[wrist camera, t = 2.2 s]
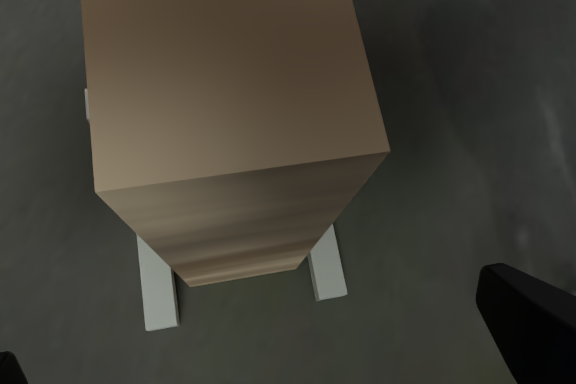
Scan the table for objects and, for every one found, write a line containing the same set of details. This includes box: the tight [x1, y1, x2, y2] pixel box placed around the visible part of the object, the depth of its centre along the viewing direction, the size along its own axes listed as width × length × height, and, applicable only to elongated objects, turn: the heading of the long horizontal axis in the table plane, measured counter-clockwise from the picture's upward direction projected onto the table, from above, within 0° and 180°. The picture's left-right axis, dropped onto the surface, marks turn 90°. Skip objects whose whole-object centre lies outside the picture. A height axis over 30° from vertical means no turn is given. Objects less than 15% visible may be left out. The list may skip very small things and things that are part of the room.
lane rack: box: [85, 89, 347, 331], centre depth 19 cm, size 8×9×5 cm
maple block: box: [81, 0, 390, 287], centre depth 15 cm, size 5×5×14 cm
